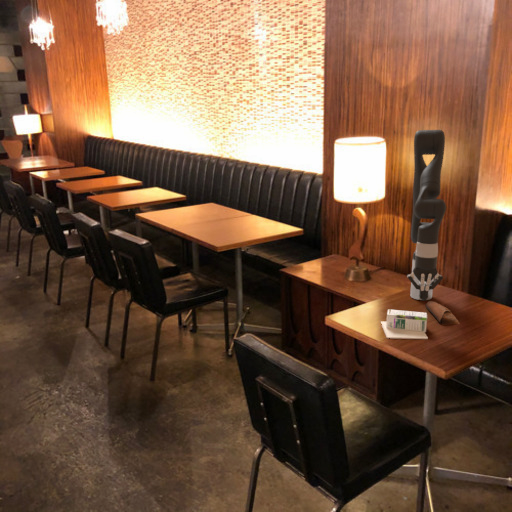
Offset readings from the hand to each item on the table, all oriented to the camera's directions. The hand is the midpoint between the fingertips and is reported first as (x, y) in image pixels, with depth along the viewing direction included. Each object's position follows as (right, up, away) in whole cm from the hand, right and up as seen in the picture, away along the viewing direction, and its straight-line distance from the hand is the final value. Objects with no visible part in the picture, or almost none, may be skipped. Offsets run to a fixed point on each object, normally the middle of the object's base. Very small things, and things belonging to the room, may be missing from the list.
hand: (423, 299), depth 198 cm
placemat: (-6, -12, +4) cm, 14 cm away
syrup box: (+2, -9, +3) cm, 10 cm away
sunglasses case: (+13, -9, +18) cm, 24 cm away
